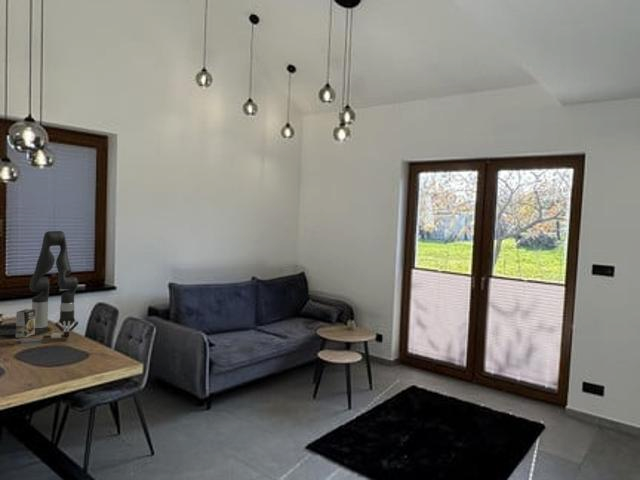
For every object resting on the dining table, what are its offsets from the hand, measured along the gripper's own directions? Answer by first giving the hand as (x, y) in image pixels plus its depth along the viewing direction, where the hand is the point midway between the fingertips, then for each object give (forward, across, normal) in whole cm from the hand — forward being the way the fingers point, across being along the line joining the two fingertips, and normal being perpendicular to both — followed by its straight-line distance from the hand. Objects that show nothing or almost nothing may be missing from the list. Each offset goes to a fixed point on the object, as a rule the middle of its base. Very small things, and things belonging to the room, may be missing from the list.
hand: (66, 337), depth 277 cm
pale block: (+2, +6, 0) cm, 6 cm away
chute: (+2, +6, 0) cm, 6 cm away
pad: (+2, +18, 0) cm, 18 cm away
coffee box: (+2, +23, -17) cm, 29 cm away
